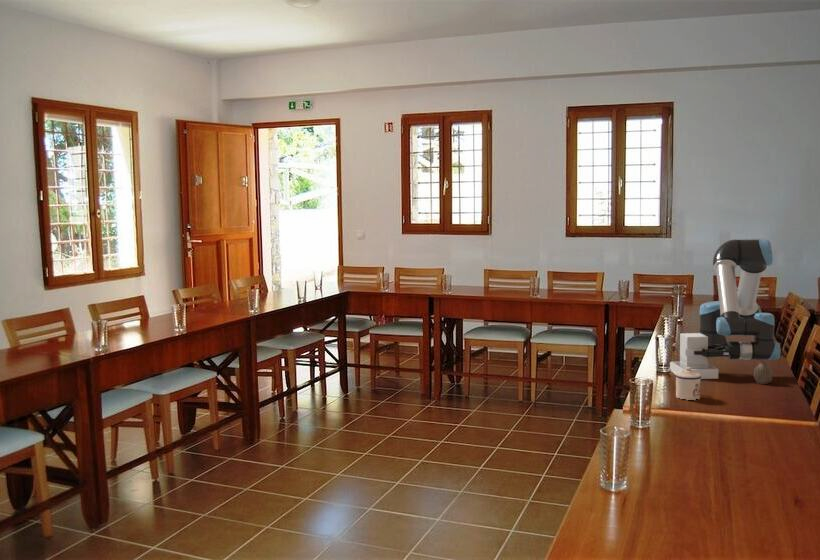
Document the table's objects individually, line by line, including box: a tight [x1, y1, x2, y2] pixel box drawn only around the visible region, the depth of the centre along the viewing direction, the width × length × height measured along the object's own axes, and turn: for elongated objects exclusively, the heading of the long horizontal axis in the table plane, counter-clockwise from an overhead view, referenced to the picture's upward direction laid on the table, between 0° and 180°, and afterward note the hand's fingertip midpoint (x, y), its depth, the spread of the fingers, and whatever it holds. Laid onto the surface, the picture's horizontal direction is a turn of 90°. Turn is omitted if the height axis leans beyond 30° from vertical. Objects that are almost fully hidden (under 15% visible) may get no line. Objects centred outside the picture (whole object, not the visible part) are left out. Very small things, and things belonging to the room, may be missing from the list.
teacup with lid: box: [674, 367, 702, 401], centre depth 281 cm, size 12×9×12 cm
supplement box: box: [679, 332, 709, 369], centre depth 314 cm, size 9×9×15 cm
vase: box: [753, 360, 773, 385], centre depth 298 cm, size 7×7×9 cm
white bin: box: [669, 361, 719, 380], centre depth 315 cm, size 15×15×4 cm
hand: (683, 349), depth 314 cm, fingers closed on supplement box, 10 cm apart
